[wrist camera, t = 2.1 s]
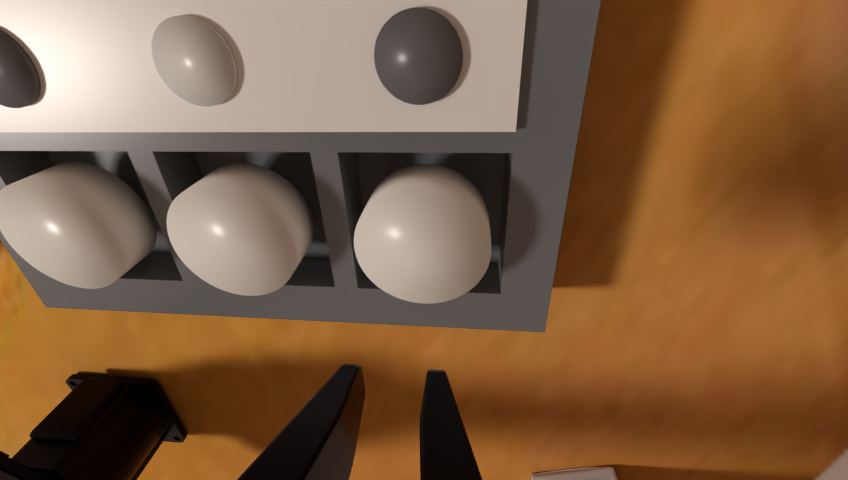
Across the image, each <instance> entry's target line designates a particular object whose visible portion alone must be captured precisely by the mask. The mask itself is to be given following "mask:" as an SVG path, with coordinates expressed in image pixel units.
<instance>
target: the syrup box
mask: <svg viewBox="0 0 848 480" xmlns="http://www.w3.org/2000/svg"><path fill="white" fill-rule="evenodd" d="M531 480H618V479H617V476H616V473H615V470H614V469H613V468H612V467H587V468H577V469H567V470H558V471H550V472H542V473H535V474H531Z"/></svg>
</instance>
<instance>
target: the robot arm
mask: <svg viewBox="0 0 848 480" xmlns="http://www.w3.org/2000/svg"><path fill="white" fill-rule="evenodd" d="M66 383H67V384H68V386H69V387H70V388H71V390H72V392H71V393H70V394H69V395H68V396H67V397H66V398H65V399H64V400H63V401H62V402H61V403H60V404H59V405H58V406H57V407H56V408H55V409H54V410H53V411H52V412H51V413H50V414H49V415H48V416H47V417H46V418H45V419H44V420H43V421H42V422H41V423H40V424H39V425H38V426H37V427H36V428H35V429H34V430H33V431H32V432H31V433H30V437H31V439H30V440H29V441H28V442H27V443H26V444H25V445H24V446H23V447H22V448H21V449H20V450H19V451H18V452H17V453H16V454H15V455H14V456H13V457H12V458H9V455H8V454H6V453H4V452H2V451H0V480H137V478H138V477H139V476H140V474H141V473H142V471H143V470H144V468H145V467H146V465H147V464H148V462H149V461H150V460H151V458H152V457H153V455H154V454H155V452H156V451H157V449H158V448H159V446H160V445H161V444H162V442H163V441H168V442H183V441H184V440H185V438H186V437H187V433H186V432H185V430H184V428H183V426H182V425H181V423H180V421H179V419H178V418H177V416H176V414H175V412H174V411H173V409H172V407H171V405H170V403H169V402H168V400H167V398H166V396H165V395H164V393H163V391H162V389H161V388H160V386H159V384H158V383H157V382H155V381H153V380H150V379H136V378H121V377H107V376H93V375H78V374H72V375H71V376H70V377H69V378H68V379H67V380H66ZM364 398H365V385H364V379H363V373H362V368H361V366H359V365H350V364H345V365H343V366H341V367H340V368H339V369H338V371H337V372H336V373H335V374H334V375H333V376H332V377H331V378H330V379H329V380H328V381H327V383H326V384H325V385H324V386H323V387H322V388H321V389H320V390H319V391H318V392H317V393H316V394H315V396H314V397H313V398H312V399H311V400H310V401H309V402H308V403H307V404H306V405H305V406H304V408H303V409H302V410H301V411H300V412H299V413H298V414H297V415H296V416H295V417H294V418H293V419H292V421H291V422H290V423H289V424H288V425H287V426H286V427H285V428H284V429H283V430H282V431H281V433H280V434H279V435H278V436H277V437H276V438H275V439H274V440H273V441H272V442H271V443H270V444H269V446H268V447H267V448H266V449H265V450H264V451H263V452H262V453H261V454H260V455H259V456H258V458H257V459H256V460H255V461H254V462H253V463H252V464H251V465H250V466H249V467H248V468H247V470H246V471H245V472H244V473H243V474H242V475H241V476H240V477H239V478H238V479H237V480H349V476H350V473H351V469H352V465H353V460H354V455H355V450H356V444H357V438H358V433H359V427H360V421H361V416H362V410H363V404H364ZM420 473H421V480H482V478H481V475H480V472H479V469H478V466H477V463H476V460H475V457H474V454H473V451H472V448H471V445H470V442H469V439H468V436H467V433H466V431H465V428H464V425H463V422H462V419H461V416H460V413H459V410H458V407H457V404H456V401H455V398H454V395H453V392H452V389H451V386H450V383H449V381H448V378H447V375H446V372H445V371H443V370H428V371H427V375H426V381H425V388H424V394H423V401H422V407H421V414H420Z"/></svg>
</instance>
